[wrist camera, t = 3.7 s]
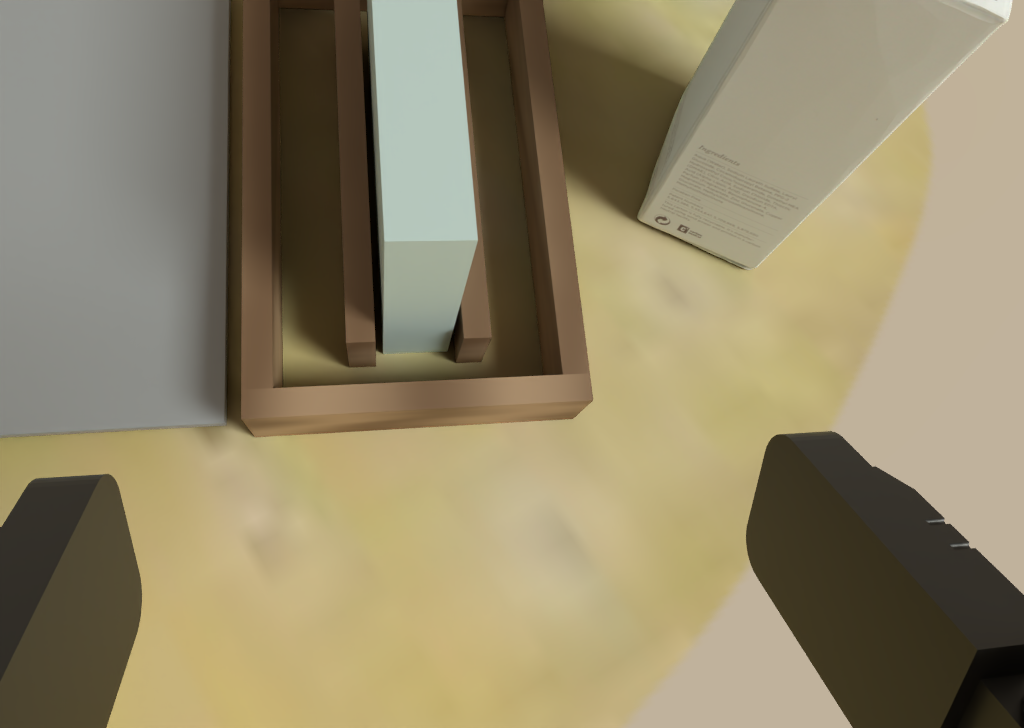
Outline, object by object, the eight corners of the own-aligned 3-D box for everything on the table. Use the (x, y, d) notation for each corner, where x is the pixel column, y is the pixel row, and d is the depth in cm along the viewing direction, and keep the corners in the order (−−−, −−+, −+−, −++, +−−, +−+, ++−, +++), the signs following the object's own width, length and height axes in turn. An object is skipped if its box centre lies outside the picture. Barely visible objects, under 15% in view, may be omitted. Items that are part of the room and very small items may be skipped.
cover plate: (382, 354, 30) (384, 241, 20) (368, 50, 33) (363, -164, 24) (447, 351, 30) (477, 240, 21) (425, 52, 34) (442, -158, 24)
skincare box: (751, 275, 33) (1021, 42, 19) (625, 219, 33) (806, -58, 19) (797, 128, 36) (1063, -170, 22) (681, 75, 36) (876, -260, 22)
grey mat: (-150, 445, 26) (-158, 443, 25) (-81, -19, 31) (-87, -26, 30) (226, 425, 28) (224, 422, 27) (230, -5, 33) (229, -12, 33)
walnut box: (255, 437, 28) (241, 418, 25) (254, -13, 33) (243, -69, 30) (572, 418, 30) (592, 400, 27) (523, 0, 36) (535, -52, 33)
